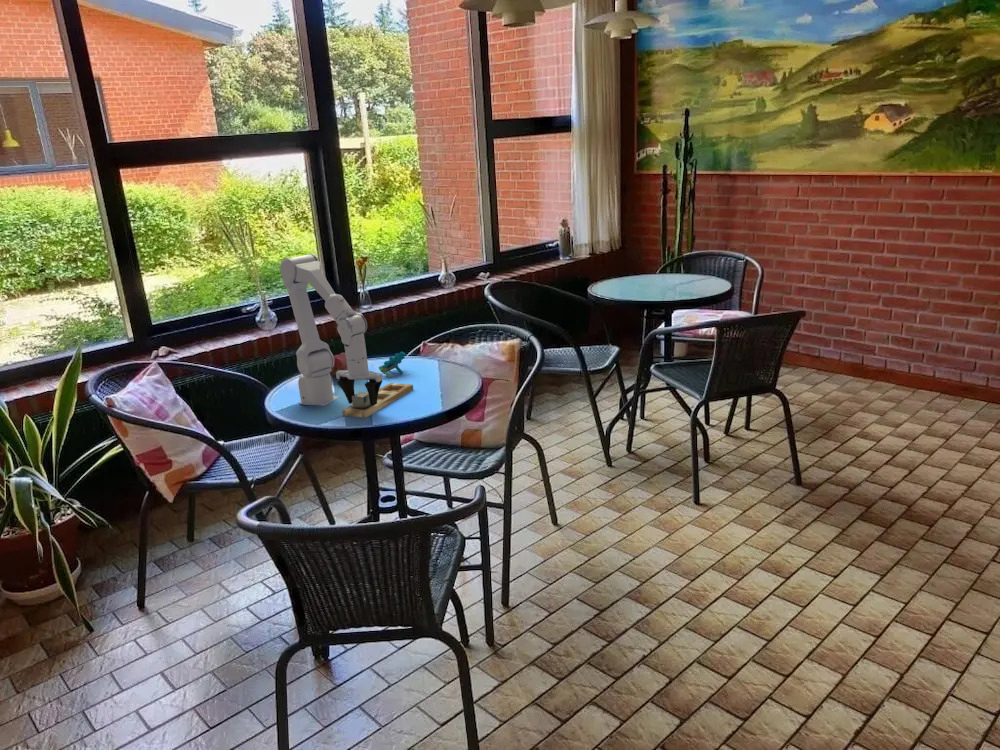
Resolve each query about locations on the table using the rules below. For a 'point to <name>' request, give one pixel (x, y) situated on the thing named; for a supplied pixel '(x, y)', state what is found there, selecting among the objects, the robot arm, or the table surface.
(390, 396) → the hole board
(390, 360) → the teal toy dinosaur
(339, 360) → the flower
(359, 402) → the block
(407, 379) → the table surface
